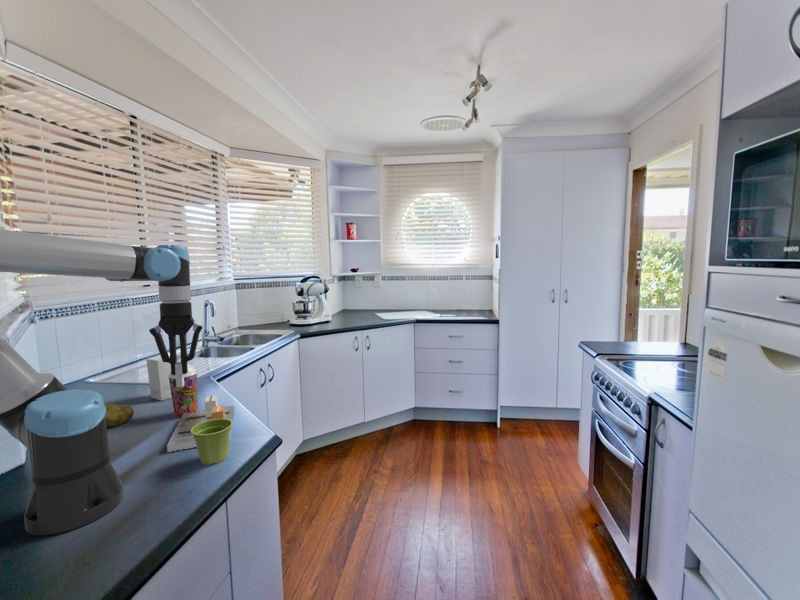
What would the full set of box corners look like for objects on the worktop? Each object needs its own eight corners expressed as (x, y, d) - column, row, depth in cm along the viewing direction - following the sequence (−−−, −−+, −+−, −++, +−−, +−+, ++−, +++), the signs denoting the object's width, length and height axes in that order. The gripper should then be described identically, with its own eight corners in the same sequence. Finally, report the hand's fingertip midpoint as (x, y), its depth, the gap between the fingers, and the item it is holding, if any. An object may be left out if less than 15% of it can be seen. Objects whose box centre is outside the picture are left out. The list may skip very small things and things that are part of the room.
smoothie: (187, 419, 121) (182, 358, 119) (165, 418, 122) (160, 358, 120) (206, 409, 129) (201, 352, 127) (185, 408, 130) (180, 352, 129)
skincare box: (178, 396, 143) (175, 356, 142) (160, 402, 138) (156, 360, 137) (167, 393, 148) (164, 354, 147) (149, 398, 142) (145, 358, 141)
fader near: (212, 429, 106) (211, 412, 106) (214, 423, 111) (213, 406, 110) (224, 427, 107) (223, 410, 107) (225, 421, 112) (224, 405, 112)
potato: (136, 424, 118) (134, 399, 117) (83, 437, 110) (80, 410, 109) (133, 416, 124) (131, 393, 124) (83, 428, 116) (80, 403, 115)
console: (167, 452, 99) (166, 445, 98) (183, 419, 121) (183, 412, 121) (229, 441, 104) (229, 434, 104) (234, 411, 126) (233, 405, 126)
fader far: (205, 417, 115) (204, 401, 115) (207, 411, 120) (206, 396, 120) (216, 415, 116) (215, 400, 116) (218, 410, 121) (216, 395, 121)
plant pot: (242, 452, 97) (240, 420, 96) (213, 471, 88) (210, 436, 88) (215, 448, 100) (212, 416, 100) (184, 465, 92) (181, 431, 91)
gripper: (203, 300, 109) (207, 379, 110) (151, 301, 104) (156, 385, 106) (200, 301, 102) (204, 386, 103) (144, 303, 97) (149, 392, 99)
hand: (180, 385), depth 104 cm, fingers closed
